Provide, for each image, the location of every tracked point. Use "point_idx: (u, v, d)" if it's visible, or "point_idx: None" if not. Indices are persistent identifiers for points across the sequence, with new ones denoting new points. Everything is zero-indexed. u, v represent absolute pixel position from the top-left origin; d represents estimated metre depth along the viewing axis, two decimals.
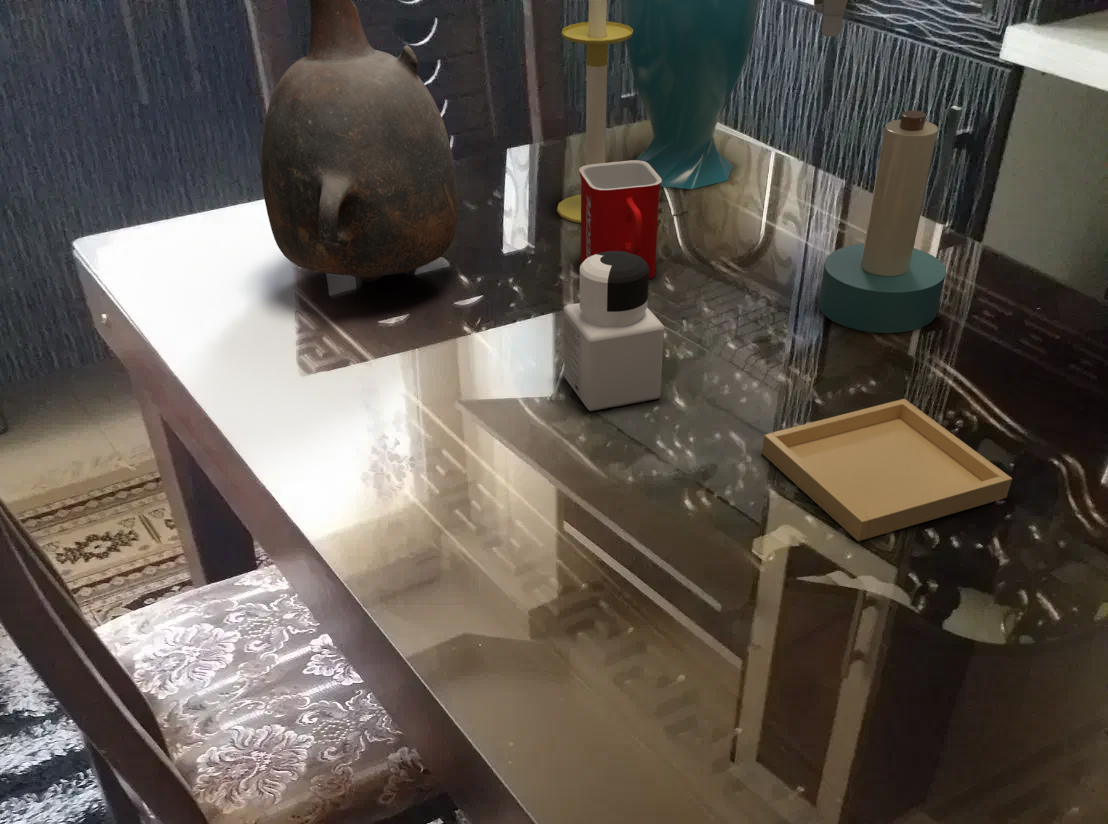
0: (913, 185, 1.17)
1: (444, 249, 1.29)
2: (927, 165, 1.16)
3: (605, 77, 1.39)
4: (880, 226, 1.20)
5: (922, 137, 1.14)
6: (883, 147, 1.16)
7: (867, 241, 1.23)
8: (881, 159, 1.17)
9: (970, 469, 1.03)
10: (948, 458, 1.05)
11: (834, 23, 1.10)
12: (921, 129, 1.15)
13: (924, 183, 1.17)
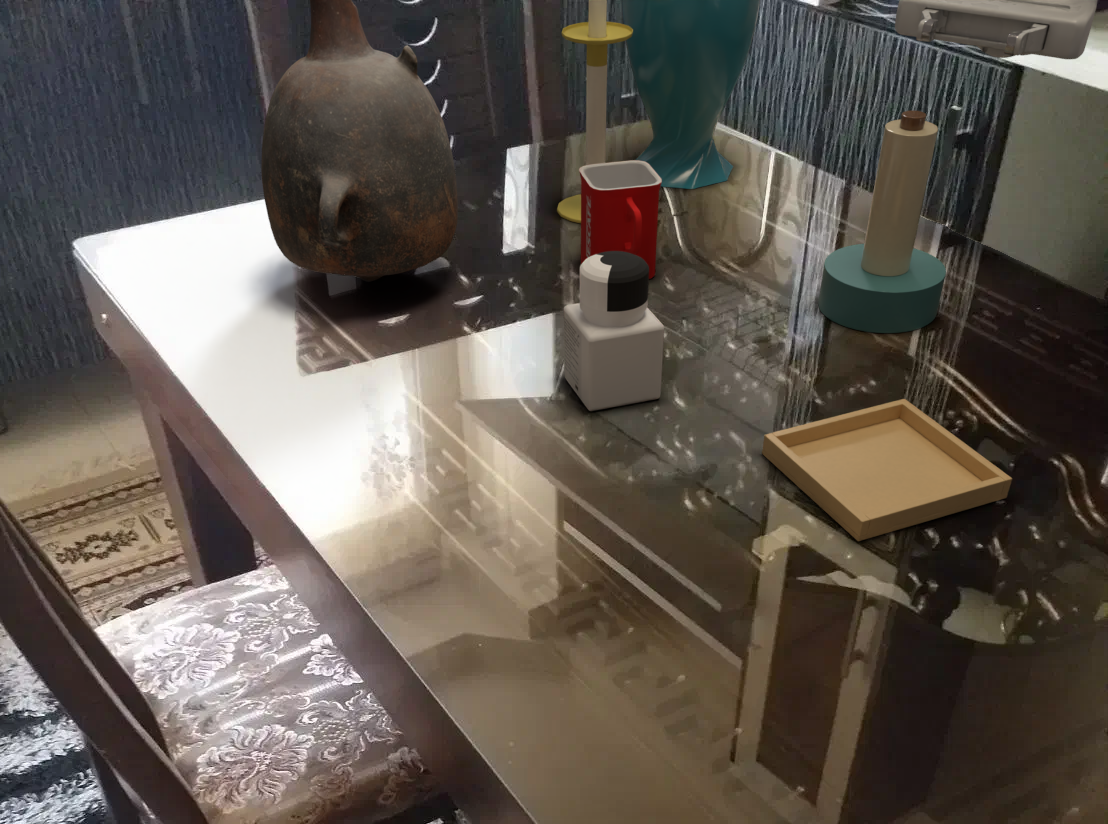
0: (913, 185, 1.17)
1: (444, 249, 1.29)
2: (927, 165, 1.16)
3: (605, 77, 1.39)
4: (880, 226, 1.20)
5: (922, 137, 1.14)
6: (883, 147, 1.16)
7: (867, 241, 1.23)
8: (881, 159, 1.17)
9: (970, 469, 1.03)
10: (948, 458, 1.05)
11: None
12: (921, 129, 1.15)
13: (924, 183, 1.17)
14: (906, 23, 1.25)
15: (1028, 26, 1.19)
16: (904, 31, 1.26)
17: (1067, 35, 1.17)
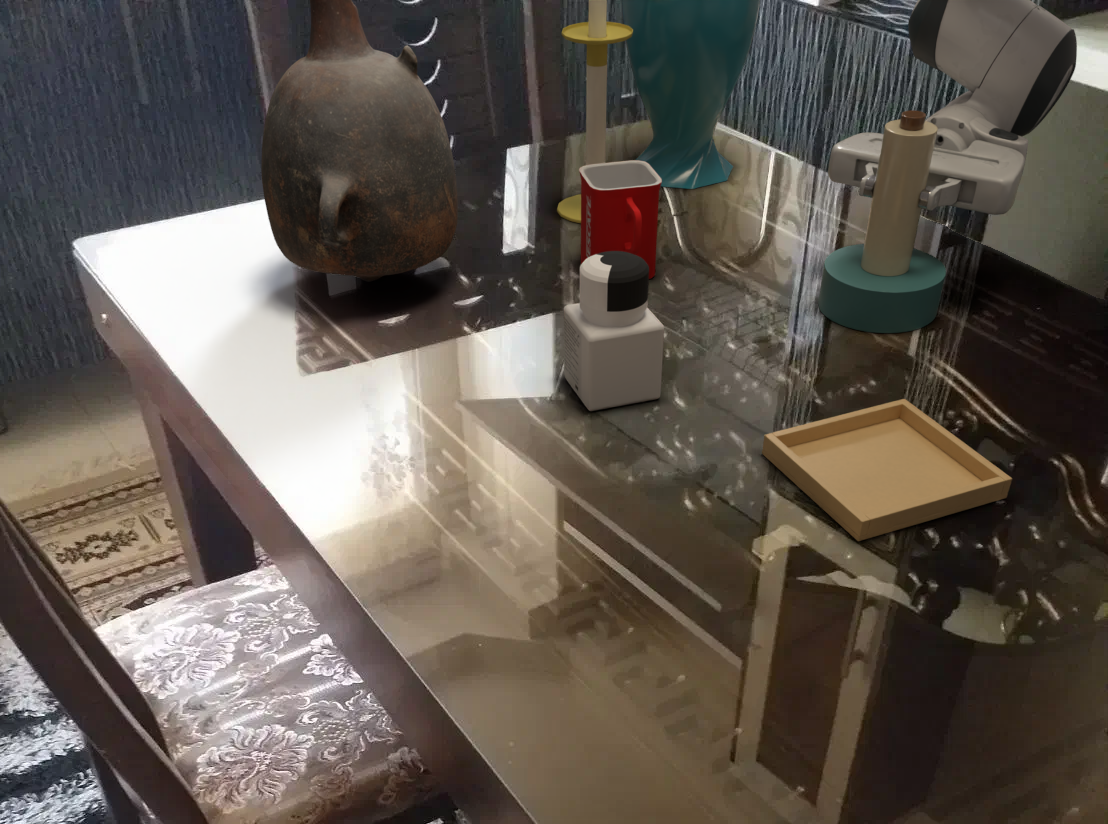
0: (913, 185, 1.17)
1: (444, 249, 1.29)
2: (927, 165, 1.16)
3: (605, 77, 1.39)
4: (880, 226, 1.20)
5: (922, 137, 1.14)
6: (883, 147, 1.16)
7: (867, 241, 1.23)
8: (881, 159, 1.17)
9: (970, 469, 1.03)
10: (948, 458, 1.05)
11: None
12: (921, 129, 1.15)
13: (924, 183, 1.17)
14: (838, 172, 1.26)
15: None
16: (837, 179, 1.26)
17: (994, 193, 1.18)
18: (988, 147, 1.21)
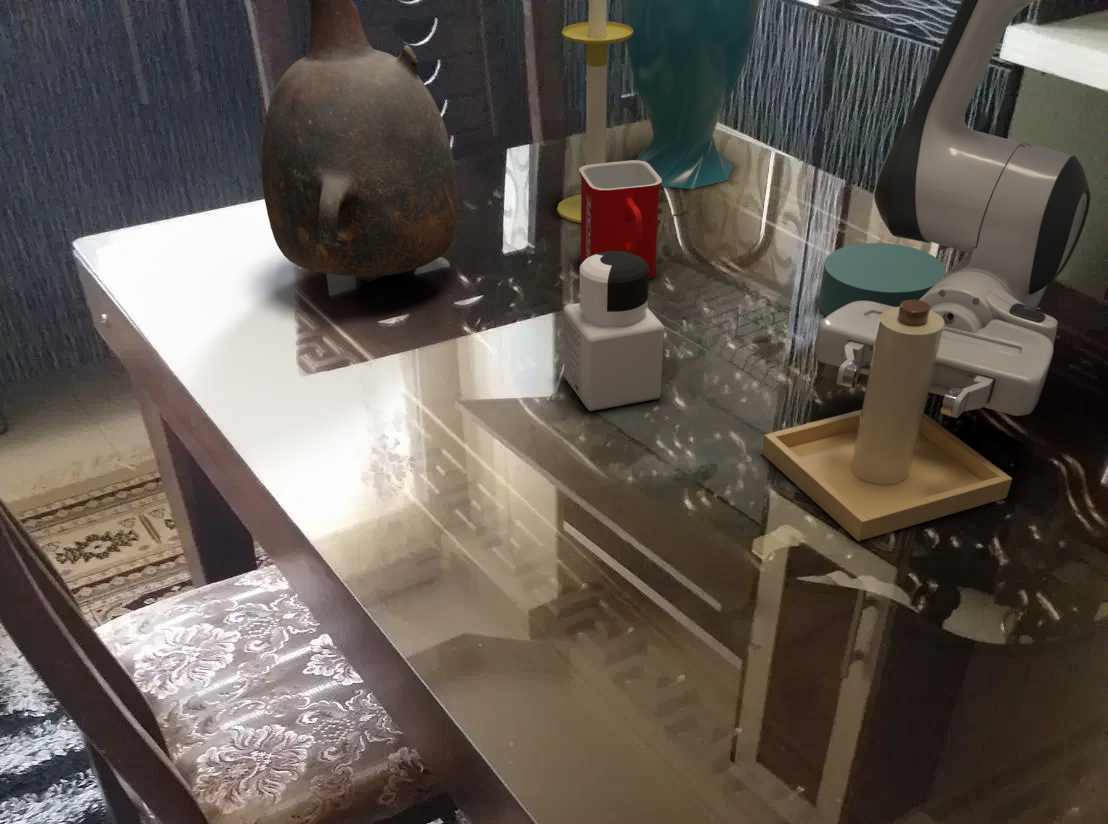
0: (914, 388, 0.96)
1: (444, 249, 1.29)
2: (931, 365, 0.95)
3: (605, 77, 1.39)
4: (874, 430, 0.99)
5: (925, 336, 0.92)
6: (877, 342, 0.95)
7: (858, 443, 1.02)
8: (875, 355, 0.96)
9: (970, 469, 1.03)
10: (948, 458, 1.05)
11: None
12: (924, 324, 0.93)
13: (927, 384, 0.96)
14: (827, 352, 1.04)
15: (970, 375, 0.98)
16: (825, 360, 1.05)
17: (1017, 392, 0.96)
18: (1009, 330, 1.00)
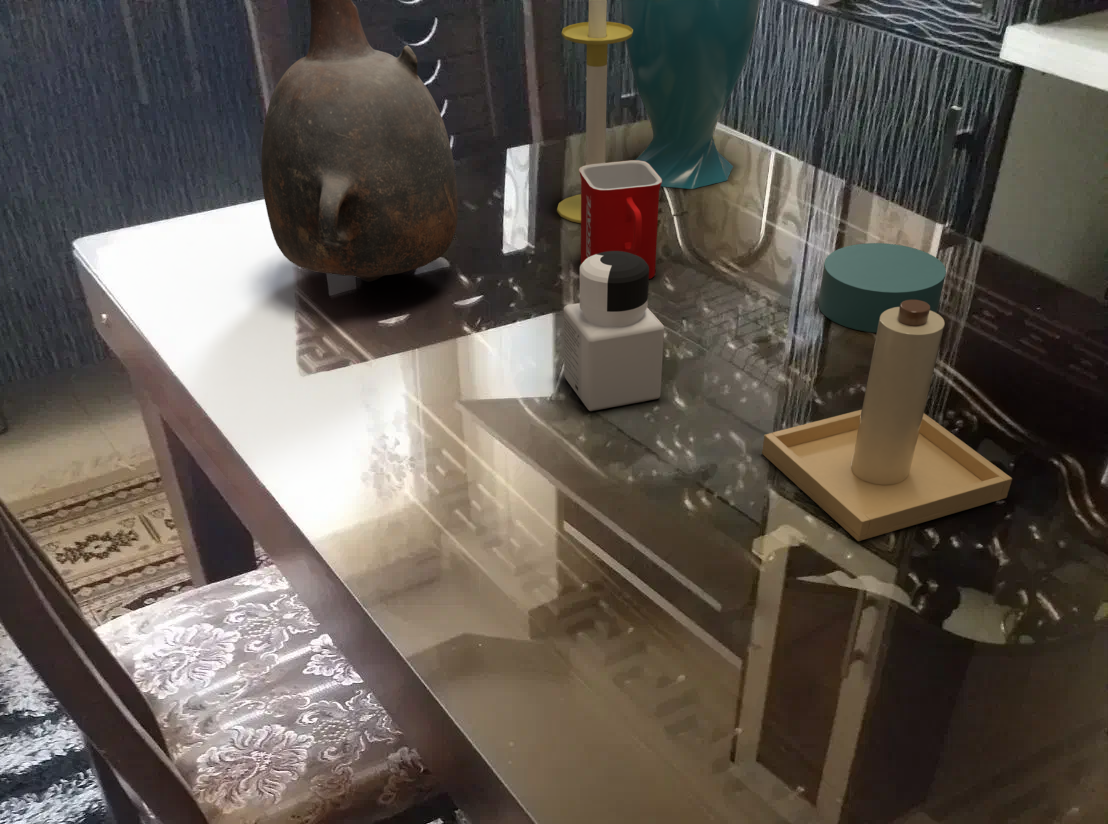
0: (914, 388, 0.96)
1: (444, 249, 1.29)
2: (931, 365, 0.95)
3: (605, 77, 1.39)
4: (874, 430, 0.99)
5: (925, 336, 0.92)
6: (877, 342, 0.95)
7: (858, 443, 1.02)
8: (875, 355, 0.96)
9: (970, 469, 1.03)
10: (948, 458, 1.05)
11: None
12: (924, 324, 0.93)
13: (927, 384, 0.96)
14: None
15: None
16: None
17: None
18: None
